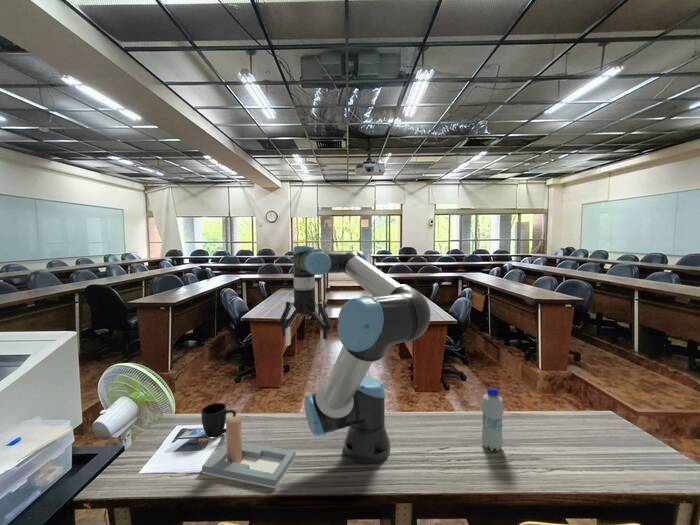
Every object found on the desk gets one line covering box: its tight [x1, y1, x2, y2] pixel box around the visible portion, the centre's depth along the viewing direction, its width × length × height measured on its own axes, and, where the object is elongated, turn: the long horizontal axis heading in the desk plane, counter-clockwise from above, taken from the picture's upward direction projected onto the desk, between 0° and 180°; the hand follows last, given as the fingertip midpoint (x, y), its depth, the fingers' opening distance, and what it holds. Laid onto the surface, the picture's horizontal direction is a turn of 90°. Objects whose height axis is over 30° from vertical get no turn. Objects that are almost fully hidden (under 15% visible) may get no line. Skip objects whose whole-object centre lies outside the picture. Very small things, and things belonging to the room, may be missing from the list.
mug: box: [201, 402, 237, 438], centre depth 115 cm, size 8×12×10 cm
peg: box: [225, 416, 243, 463], centre depth 100 cm, size 4×4×13 cm
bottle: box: [481, 386, 505, 452], centre depth 106 cm, size 7×7×20 cm
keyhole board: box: [201, 441, 296, 489], centre depth 98 cm, size 24×13×2 cm, turn 75°
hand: (305, 346), depth 117 cm, fingers open, 13 cm apart
